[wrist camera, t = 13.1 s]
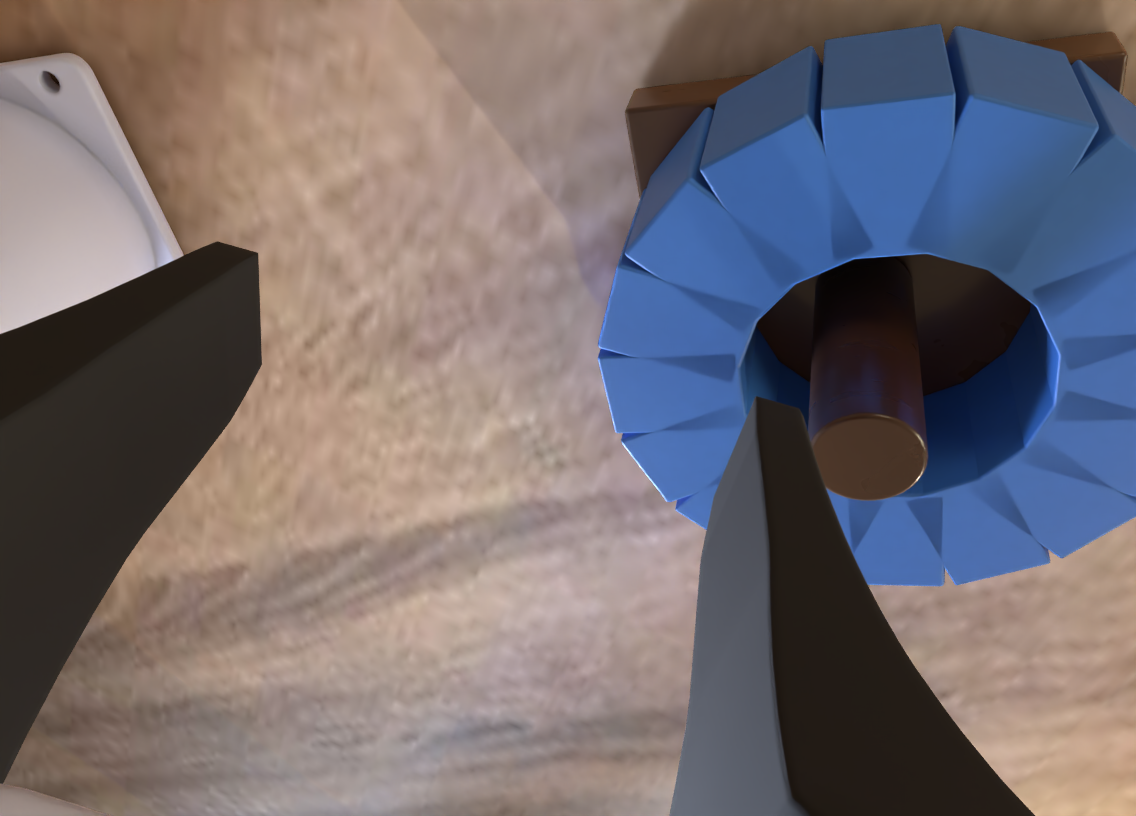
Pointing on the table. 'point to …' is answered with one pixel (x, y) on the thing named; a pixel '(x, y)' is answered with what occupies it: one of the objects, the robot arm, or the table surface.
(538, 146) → the table surface
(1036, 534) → the tape
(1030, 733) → the table surface
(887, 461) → the stand
